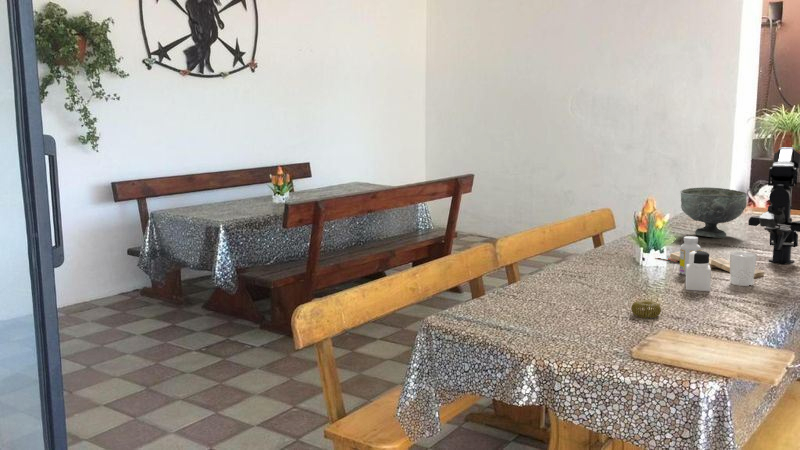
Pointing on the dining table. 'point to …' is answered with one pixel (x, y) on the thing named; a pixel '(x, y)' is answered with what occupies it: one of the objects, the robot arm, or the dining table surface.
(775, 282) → the dining table surface
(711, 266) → the domino
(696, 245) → the supplement bottle
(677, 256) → the domino
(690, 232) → the dining table surface
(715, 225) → the decorative bowl
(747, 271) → the white cup
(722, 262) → the domino
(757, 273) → the domino
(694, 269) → the medicine bottle
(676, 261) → the domino
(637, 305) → the olive green ribbed ring
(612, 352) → the dining table surface
